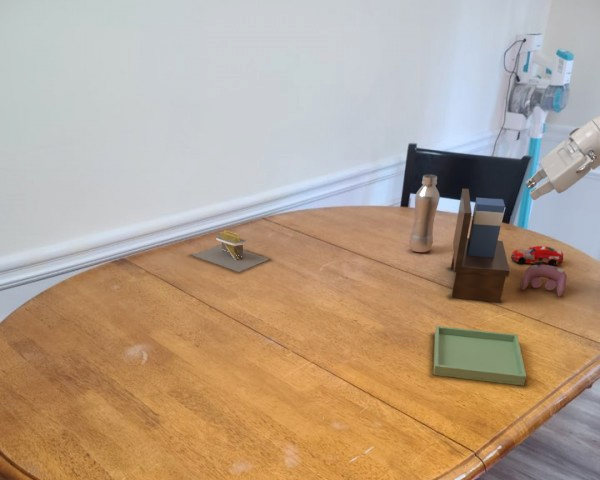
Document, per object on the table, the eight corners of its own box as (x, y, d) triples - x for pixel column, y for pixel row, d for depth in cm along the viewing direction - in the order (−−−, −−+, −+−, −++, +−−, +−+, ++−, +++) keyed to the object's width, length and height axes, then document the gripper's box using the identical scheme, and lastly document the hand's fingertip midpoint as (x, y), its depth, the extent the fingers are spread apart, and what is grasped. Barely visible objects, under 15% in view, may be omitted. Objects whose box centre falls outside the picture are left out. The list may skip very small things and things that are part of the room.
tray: (515, 343, 116) (517, 334, 114) (523, 385, 103) (526, 376, 101) (434, 334, 118) (436, 325, 117) (433, 375, 105) (435, 365, 104)
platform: (238, 272, 144) (237, 247, 140) (191, 255, 154) (189, 231, 150) (270, 259, 152) (269, 235, 148) (223, 243, 161) (221, 220, 157)
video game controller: (561, 298, 137) (569, 269, 136) (562, 297, 133) (571, 267, 132) (519, 290, 140) (526, 262, 139) (519, 289, 136) (526, 260, 135)
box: (492, 249, 137) (503, 199, 130) (494, 257, 132) (505, 206, 126) (466, 247, 138) (476, 197, 131) (467, 255, 133) (477, 204, 127)
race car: (511, 264, 151) (514, 249, 149) (508, 256, 155) (512, 242, 153) (563, 267, 149) (567, 252, 147) (559, 260, 154) (563, 245, 151)
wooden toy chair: (495, 270, 147) (513, 191, 135) (502, 303, 131) (522, 216, 119) (448, 266, 149) (462, 188, 137) (449, 298, 133) (464, 212, 121)
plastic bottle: (402, 250, 158) (412, 175, 147) (418, 245, 162) (428, 172, 150) (420, 256, 154) (431, 180, 143) (436, 251, 158) (448, 176, 146)
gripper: (607, 170, 111) (542, 215, 119) (588, 150, 128) (532, 191, 135) (590, 144, 110) (525, 192, 117) (573, 127, 126) (517, 170, 133)
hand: (529, 191), depth 126 cm, fingers open, 8 cm apart
